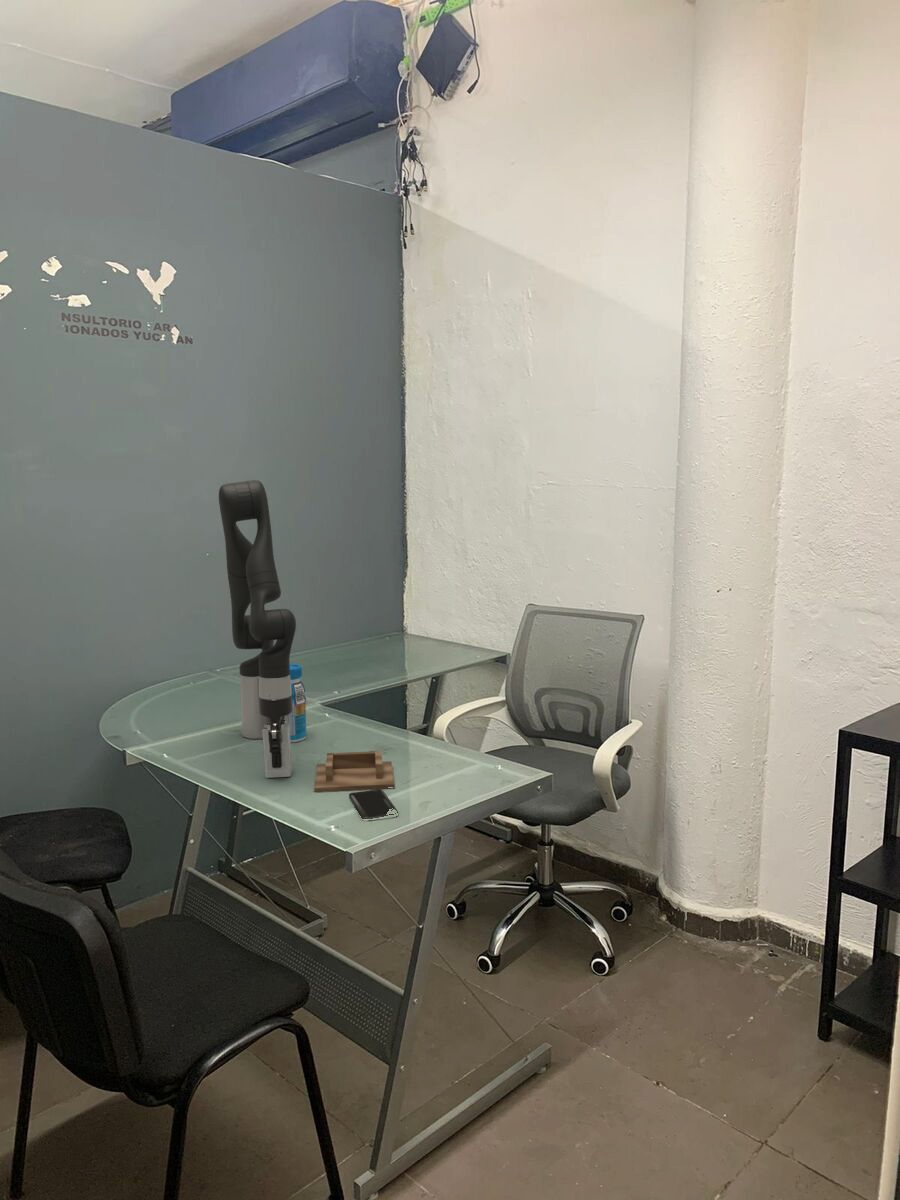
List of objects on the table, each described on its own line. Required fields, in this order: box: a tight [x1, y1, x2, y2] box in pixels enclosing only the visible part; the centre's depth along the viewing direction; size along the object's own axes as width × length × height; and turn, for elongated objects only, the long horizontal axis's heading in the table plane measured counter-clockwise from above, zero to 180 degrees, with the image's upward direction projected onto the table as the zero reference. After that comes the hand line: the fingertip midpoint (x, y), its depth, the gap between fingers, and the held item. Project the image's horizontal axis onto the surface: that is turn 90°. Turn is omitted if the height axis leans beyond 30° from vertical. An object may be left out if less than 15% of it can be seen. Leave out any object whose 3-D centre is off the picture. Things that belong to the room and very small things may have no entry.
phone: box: [348, 789, 399, 820], centre depth 186 cm, size 8×1×15 cm
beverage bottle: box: [284, 663, 307, 743], centre depth 233 cm, size 8×8×20 cm
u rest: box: [313, 750, 395, 793], centre depth 203 cm, size 16×18×4 cm
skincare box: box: [262, 724, 293, 779], centre depth 205 cm, size 6×4×12 cm
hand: (277, 763), depth 205 cm, fingers closed on skincare box, 4 cm apart
